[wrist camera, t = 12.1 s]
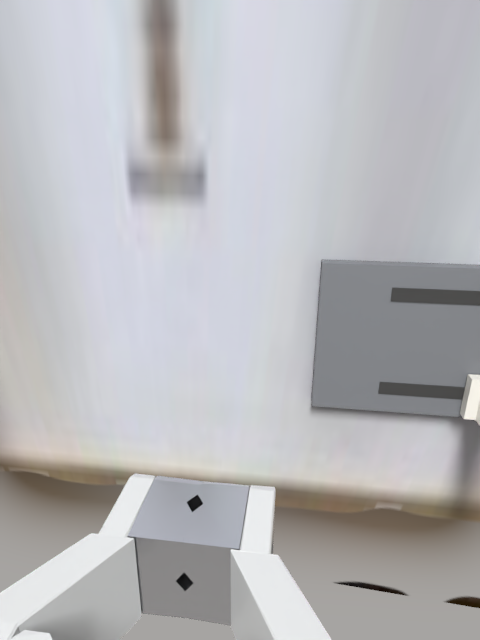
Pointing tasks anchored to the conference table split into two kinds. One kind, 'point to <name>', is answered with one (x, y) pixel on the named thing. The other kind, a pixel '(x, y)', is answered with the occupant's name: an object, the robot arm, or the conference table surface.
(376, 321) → the switch board
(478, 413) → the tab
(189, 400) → the conference table surface
